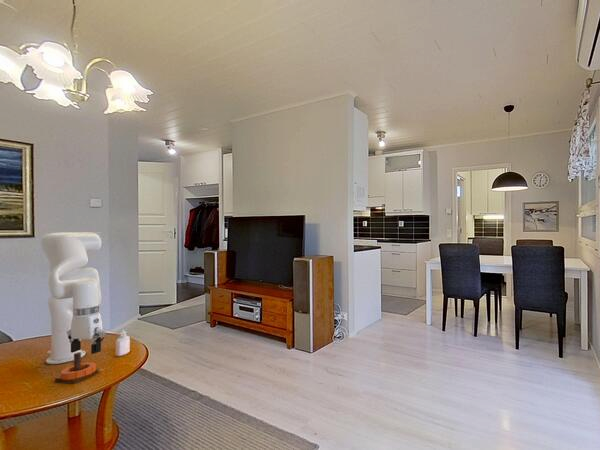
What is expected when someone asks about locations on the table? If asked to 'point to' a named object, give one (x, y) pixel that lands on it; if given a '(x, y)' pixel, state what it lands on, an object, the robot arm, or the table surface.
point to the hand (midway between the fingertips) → (85, 351)
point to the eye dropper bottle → (122, 344)
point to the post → (76, 368)
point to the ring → (85, 370)
